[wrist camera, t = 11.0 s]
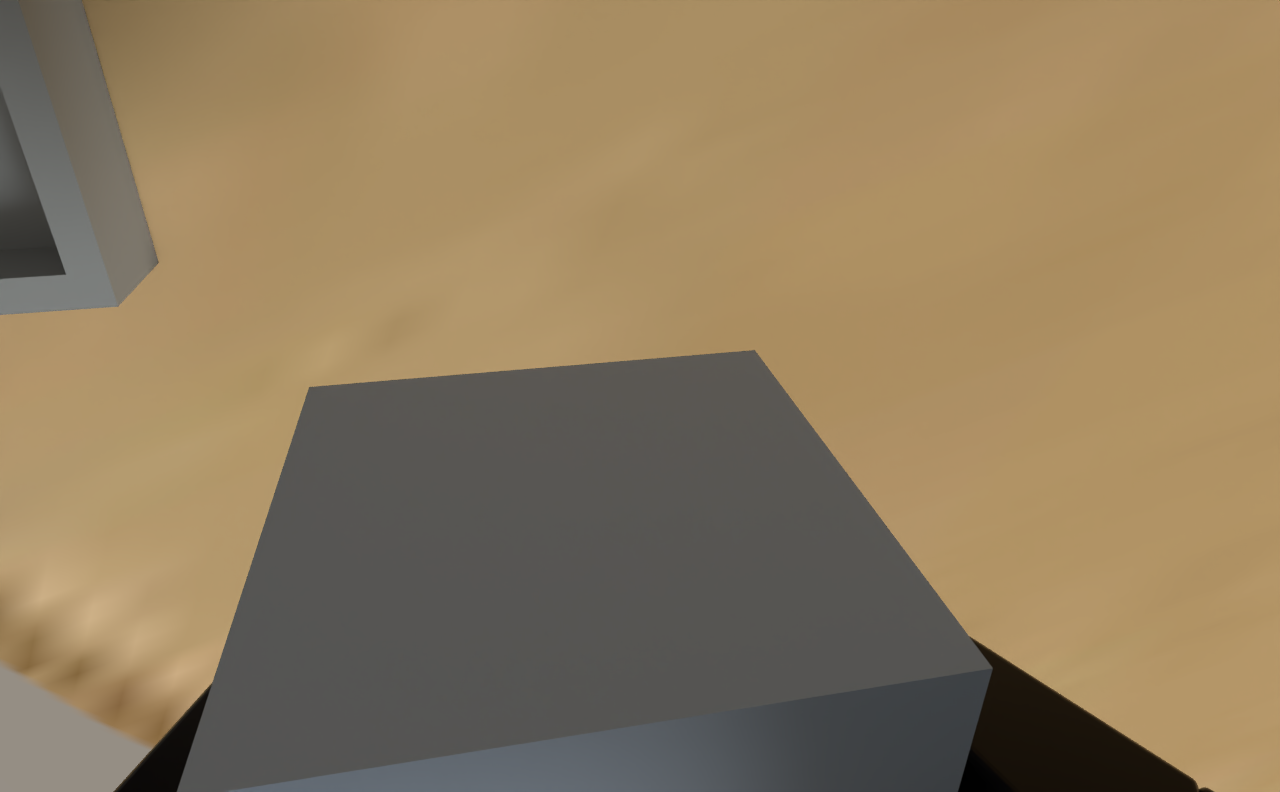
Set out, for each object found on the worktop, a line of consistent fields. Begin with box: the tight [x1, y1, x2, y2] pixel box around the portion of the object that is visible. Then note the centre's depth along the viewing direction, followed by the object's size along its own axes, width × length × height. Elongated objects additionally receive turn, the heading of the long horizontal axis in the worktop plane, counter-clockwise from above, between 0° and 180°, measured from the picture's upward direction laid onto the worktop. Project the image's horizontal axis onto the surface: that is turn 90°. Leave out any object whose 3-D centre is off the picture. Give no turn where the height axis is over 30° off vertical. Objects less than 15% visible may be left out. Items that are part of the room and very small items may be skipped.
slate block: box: [177, 350, 993, 792], centre depth 7 cm, size 4×4×4 cm
